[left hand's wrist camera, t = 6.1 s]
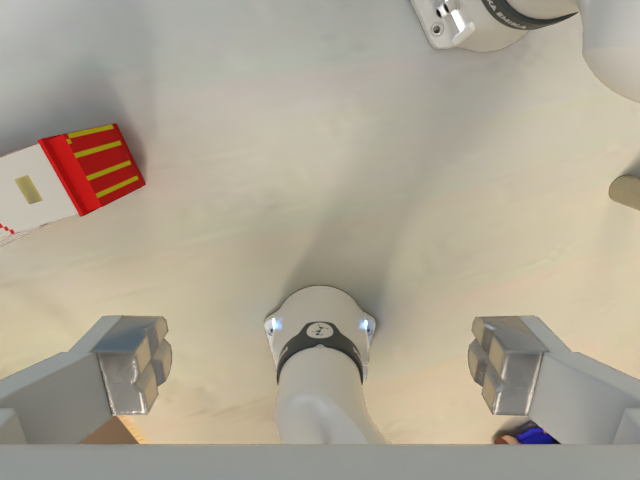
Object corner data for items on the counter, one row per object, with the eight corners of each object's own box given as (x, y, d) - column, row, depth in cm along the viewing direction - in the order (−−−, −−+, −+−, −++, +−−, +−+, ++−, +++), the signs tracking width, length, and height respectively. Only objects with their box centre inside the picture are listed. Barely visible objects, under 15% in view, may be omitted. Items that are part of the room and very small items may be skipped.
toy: (-140, 192, 48) (49, 120, 41) (-36, 167, 60) (124, 108, 53) (-76, 276, 52) (106, 224, 45) (9, 237, 64) (163, 191, 57)
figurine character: (560, 406, 74) (486, 430, 74) (591, 437, 67) (508, 465, 67) (563, 431, 77) (491, 455, 77) (593, 464, 69) (513, 491, 69)
